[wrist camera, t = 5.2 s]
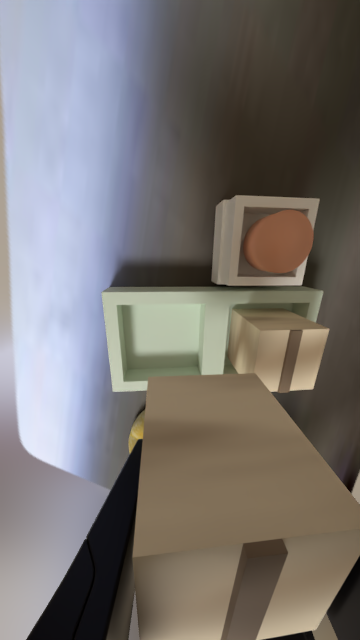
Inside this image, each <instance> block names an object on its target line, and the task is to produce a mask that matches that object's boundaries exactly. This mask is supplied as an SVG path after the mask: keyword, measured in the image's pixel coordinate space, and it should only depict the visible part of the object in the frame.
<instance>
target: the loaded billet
mask: <svg viewBox="0 0 360 640" xmlns="http://www.w3.org/2000/svg"><path fill="white" fill-rule="evenodd" d="M328 333H329V328H326V327H324V326H322V325H320V324H317V323H315V322H313V321H311V320H308V319H306V318H304V317H302V316H299V315H297V314H295V313H292V312H290V311H288V310H286V309H283V308H259V309H232V314H231V324H230V334H229V344H228V354H227V357H228V359H229V360H230V362H231V363H232V365H233V366H234V368H235V369H236V371H237V372H238V374H245V373H256V374H257V376H258V377H259V378H260V379H261V381H262V382H263V383H264V385H265V386H266V387H267V388H268V390H269V391H270V392H273V391H278V392H279V393H288V392H289V391H291V390H308V389H313V388H314V384H315V380H316V377H317V373H318V369H319V366H320V362H321V358H322V355H323V351H324V347H325V344H326V340H327V336H328Z"/></svg>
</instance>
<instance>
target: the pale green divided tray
mask: <svg viewBox="0 0 360 640" xmlns="http://www.w3.org/2000/svg"><path fill="white" fill-rule="evenodd" d="M322 295H323V291H321V290H317V289H313V288H308V287H304V286H245V287H109V288H107V289H106V290H104V291H103V292H102V301H103V309H104V318H105V326H106V335H107V344H108V352H109V361H110V370H111V378H112V387H113V392H123V391H141V390H147V385H148V377H157V376H186V375H216V374H238V372H237V371H236V369H235V368H234V366H233V365H232V363H231V362H230V360H229V359H228V357H227V354H228V344H229V334H230V324H231V314H232V309H259V308H283V309H286V310H288V311H290V312H292V313H295V314H297V315H299V316H302V317H304V318H306V319H308V320H311V321H313V322H315V323H316V320H317V316H318V312H319V308H320V303H321V299H322Z"/></svg>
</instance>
